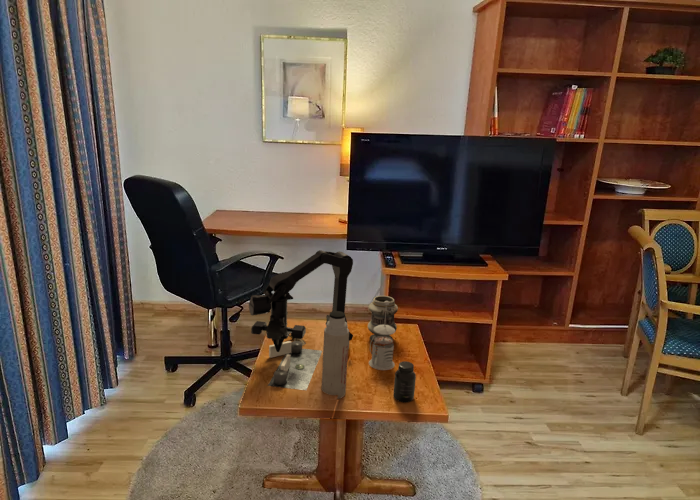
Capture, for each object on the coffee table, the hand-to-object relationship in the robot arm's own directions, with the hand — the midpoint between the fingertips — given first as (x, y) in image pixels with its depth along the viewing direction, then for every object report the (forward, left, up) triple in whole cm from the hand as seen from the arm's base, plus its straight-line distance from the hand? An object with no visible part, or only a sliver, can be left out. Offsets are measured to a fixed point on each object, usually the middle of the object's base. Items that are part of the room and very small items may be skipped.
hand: (278, 351), depth 175 cm
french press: (-37, -8, -5) cm, 38 cm away
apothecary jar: (-36, -30, -5) cm, 47 cm away
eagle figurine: (-4, -15, -5) cm, 16 cm away
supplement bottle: (-46, +13, -5) cm, 48 cm away
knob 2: (-5, +11, -3) cm, 12 cm away
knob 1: (-2, -5, -3) cm, 6 cm away
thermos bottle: (-23, +15, -5) cm, 28 cm away
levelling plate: (-8, +4, -5) cm, 10 cm away
